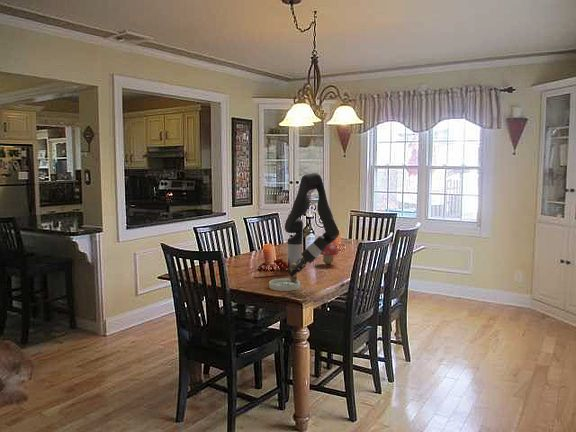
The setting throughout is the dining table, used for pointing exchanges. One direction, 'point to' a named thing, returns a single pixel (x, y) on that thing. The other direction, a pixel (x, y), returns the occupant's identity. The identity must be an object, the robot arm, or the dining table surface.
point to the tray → (284, 284)
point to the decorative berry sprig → (277, 268)
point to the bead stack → (294, 277)
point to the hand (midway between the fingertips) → (290, 274)
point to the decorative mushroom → (329, 253)
